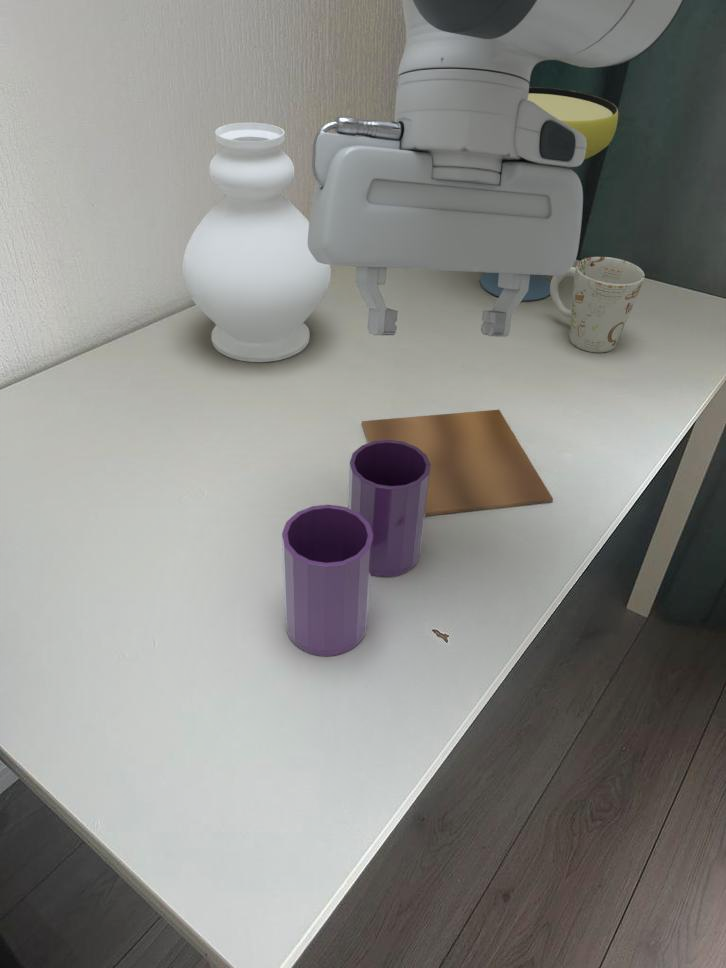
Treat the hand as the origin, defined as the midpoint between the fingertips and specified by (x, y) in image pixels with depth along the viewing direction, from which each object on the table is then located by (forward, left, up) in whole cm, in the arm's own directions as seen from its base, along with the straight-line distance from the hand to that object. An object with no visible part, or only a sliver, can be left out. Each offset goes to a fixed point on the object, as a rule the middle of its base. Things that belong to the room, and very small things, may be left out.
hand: (439, 335), depth 57 cm
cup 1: (+10, +8, -22) cm, 25 cm away
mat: (-7, -12, -22) cm, 26 cm away
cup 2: (+3, 0, -22) cm, 22 cm away
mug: (-32, -36, -22) cm, 53 cm away
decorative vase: (+10, -41, -22) cm, 48 cm away
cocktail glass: (-29, -52, -22) cm, 63 cm away
